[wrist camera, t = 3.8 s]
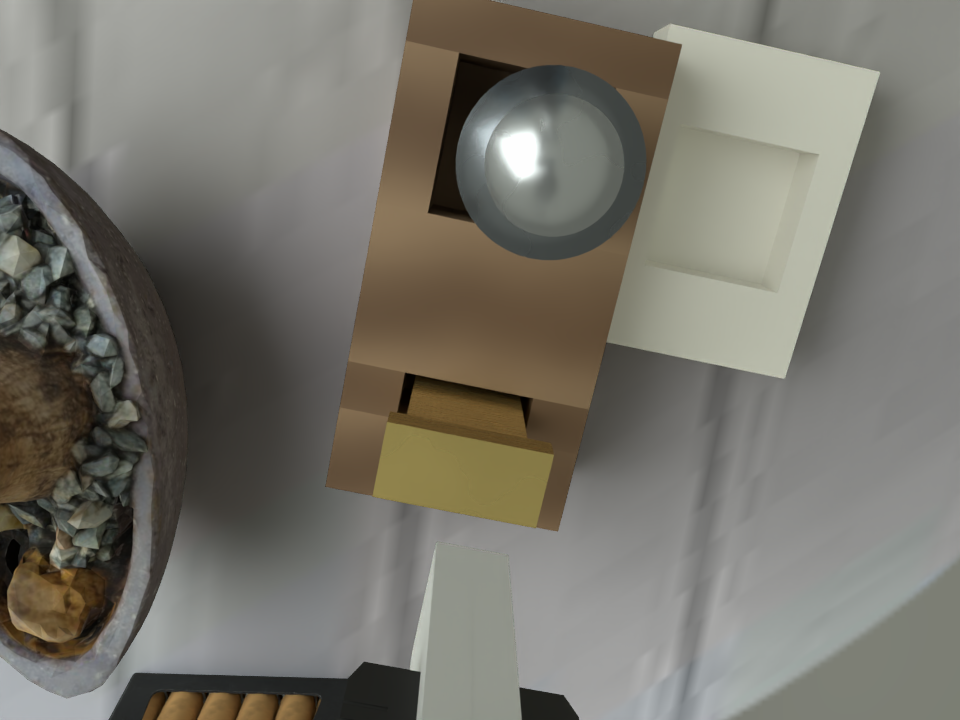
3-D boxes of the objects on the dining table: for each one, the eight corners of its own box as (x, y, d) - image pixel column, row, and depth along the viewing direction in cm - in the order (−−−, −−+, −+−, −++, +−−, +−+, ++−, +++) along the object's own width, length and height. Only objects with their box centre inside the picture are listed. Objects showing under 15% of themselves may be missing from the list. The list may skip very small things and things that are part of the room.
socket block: (425, 8, 34) (416, -17, 29) (647, 58, 35) (682, 44, 29) (347, 433, 39) (325, 486, 33) (545, 472, 39) (557, 531, 34)
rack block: (654, 32, 35) (670, 23, 32) (846, 76, 35) (880, 71, 32) (582, 323, 38) (591, 339, 35) (760, 360, 38) (784, 378, 35)
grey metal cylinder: (474, 84, 33) (477, 41, 17) (577, 107, 34) (677, 86, 17) (453, 189, 34) (437, 243, 18) (553, 211, 34) (625, 283, 18)
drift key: (410, 341, 35) (386, 421, 26) (531, 366, 36) (554, 455, 26) (399, 397, 36) (372, 496, 26) (518, 421, 36) (535, 528, 26)
